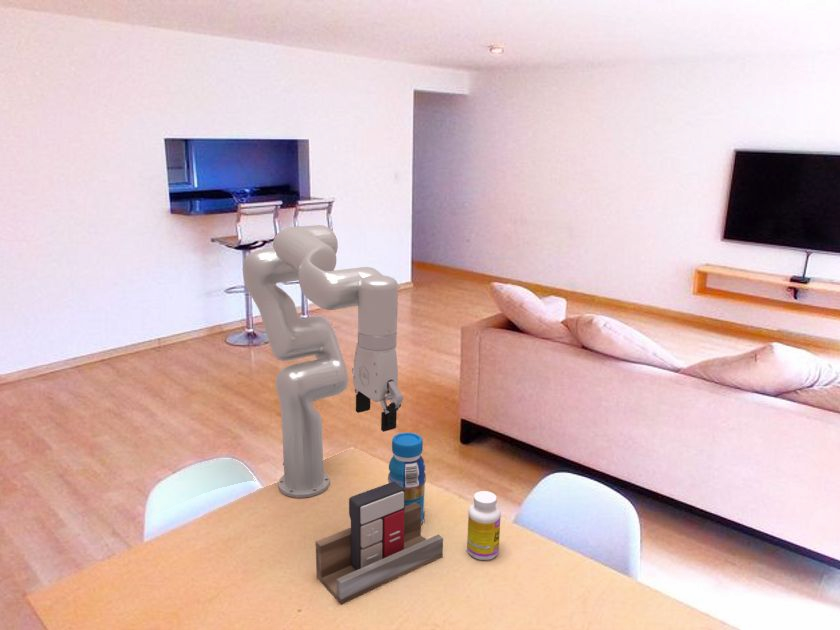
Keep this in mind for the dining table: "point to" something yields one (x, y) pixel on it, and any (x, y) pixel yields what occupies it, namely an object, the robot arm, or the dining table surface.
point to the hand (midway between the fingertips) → (375, 420)
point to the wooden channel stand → (353, 583)
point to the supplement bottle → (483, 526)
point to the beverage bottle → (409, 468)
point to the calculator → (376, 524)
